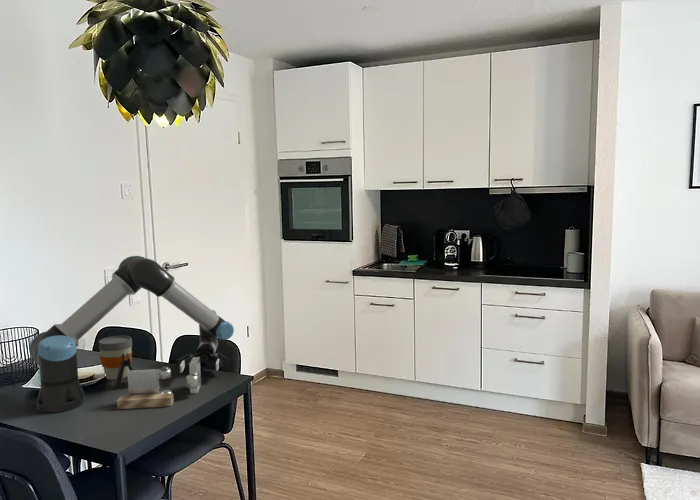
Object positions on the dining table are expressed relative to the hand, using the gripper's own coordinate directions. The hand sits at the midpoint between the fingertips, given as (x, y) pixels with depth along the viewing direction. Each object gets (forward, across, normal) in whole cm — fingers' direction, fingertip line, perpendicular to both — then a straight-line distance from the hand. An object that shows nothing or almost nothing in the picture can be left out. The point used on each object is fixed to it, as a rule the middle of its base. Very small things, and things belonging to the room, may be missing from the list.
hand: (198, 368), depth 209 cm
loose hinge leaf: (+8, +1, -6) cm, 10 cm away
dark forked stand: (-2, +28, -6) cm, 28 cm away
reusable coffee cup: (-14, +34, -6) cm, 38 cm away
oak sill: (+19, +16, -6) cm, 25 cm away
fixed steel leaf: (+15, +15, -6) cm, 22 cm away
